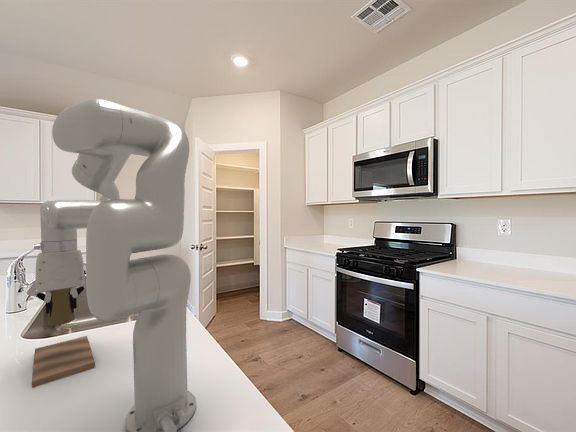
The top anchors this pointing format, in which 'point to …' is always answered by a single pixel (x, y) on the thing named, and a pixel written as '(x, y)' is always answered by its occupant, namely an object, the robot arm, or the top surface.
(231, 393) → the top surface
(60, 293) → the cork
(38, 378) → the walnut board
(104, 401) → the top surface
